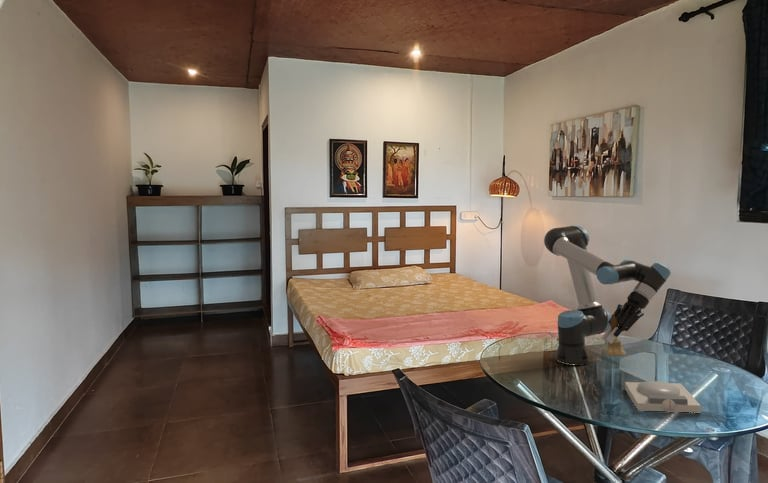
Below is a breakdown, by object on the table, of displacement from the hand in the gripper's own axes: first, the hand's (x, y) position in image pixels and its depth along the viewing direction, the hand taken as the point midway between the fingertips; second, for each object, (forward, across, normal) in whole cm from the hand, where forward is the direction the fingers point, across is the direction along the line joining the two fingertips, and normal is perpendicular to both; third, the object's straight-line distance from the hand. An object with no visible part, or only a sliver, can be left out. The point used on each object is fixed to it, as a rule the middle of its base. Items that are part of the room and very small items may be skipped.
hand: (606, 340), depth 196 cm
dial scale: (+7, -19, -20) cm, 28 cm away
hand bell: (+1, 0, -7) cm, 7 cm away
